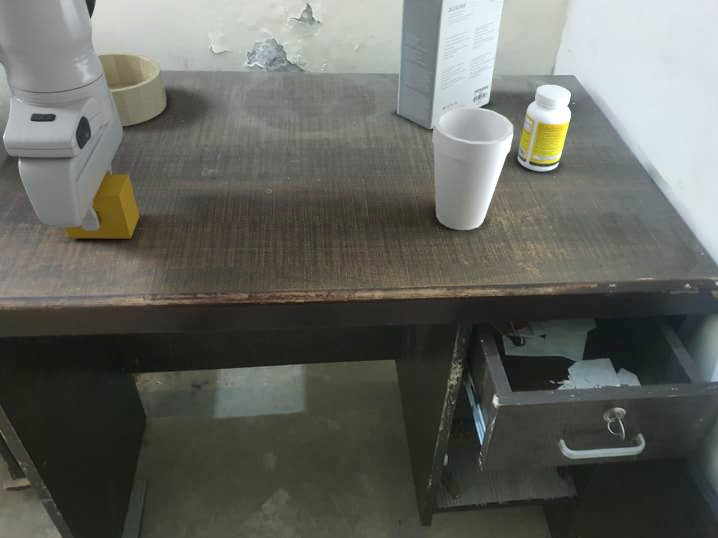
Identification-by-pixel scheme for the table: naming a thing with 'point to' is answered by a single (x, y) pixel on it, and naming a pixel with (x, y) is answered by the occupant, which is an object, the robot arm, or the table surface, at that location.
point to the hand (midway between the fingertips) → (99, 212)
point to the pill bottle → (545, 128)
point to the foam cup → (468, 163)
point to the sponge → (112, 210)
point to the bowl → (134, 86)
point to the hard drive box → (446, 56)
